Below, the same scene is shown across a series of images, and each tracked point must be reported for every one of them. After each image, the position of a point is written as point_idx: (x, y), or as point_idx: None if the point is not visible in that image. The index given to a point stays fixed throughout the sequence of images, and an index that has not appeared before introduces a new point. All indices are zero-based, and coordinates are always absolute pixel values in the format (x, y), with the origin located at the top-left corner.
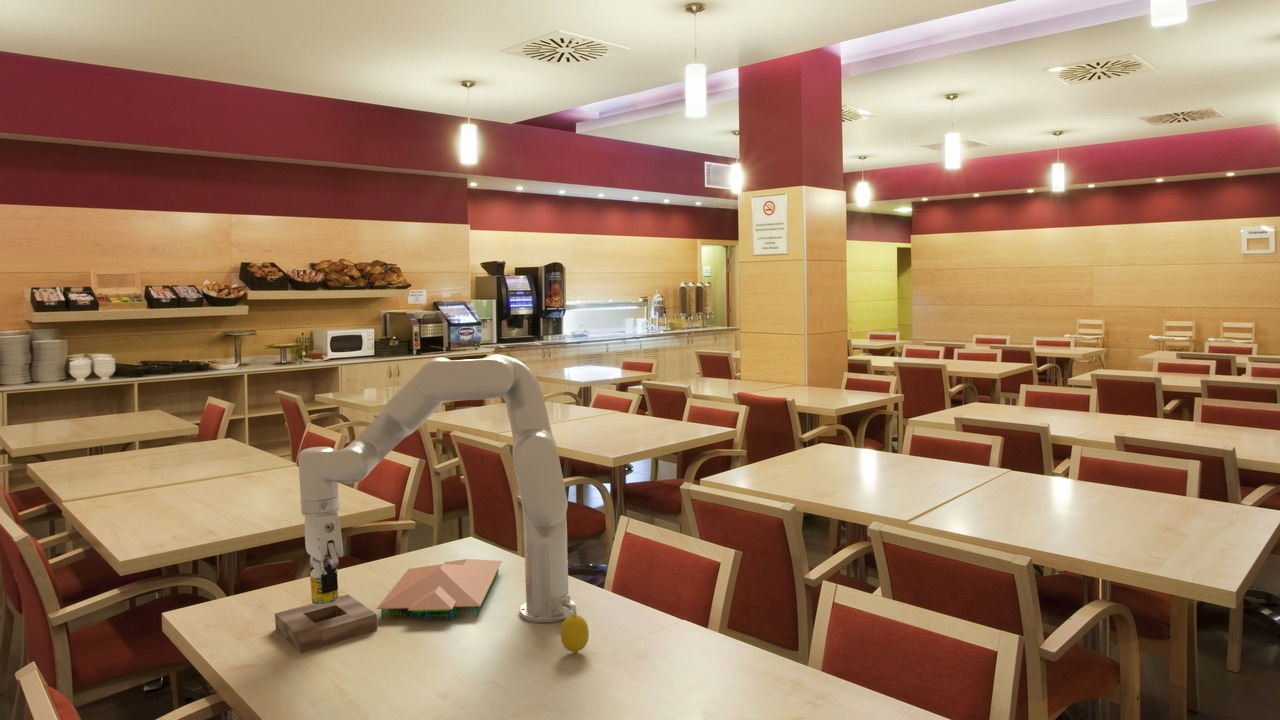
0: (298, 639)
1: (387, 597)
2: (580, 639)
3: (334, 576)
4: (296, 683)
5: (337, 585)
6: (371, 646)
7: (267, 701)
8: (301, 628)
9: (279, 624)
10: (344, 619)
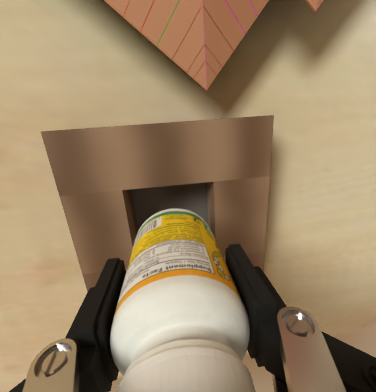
0: None
1: (144, 15)
2: None
3: (282, 302)
4: (345, 287)
5: (243, 252)
6: (322, 159)
7: (359, 319)
8: None
9: None
10: (245, 198)
